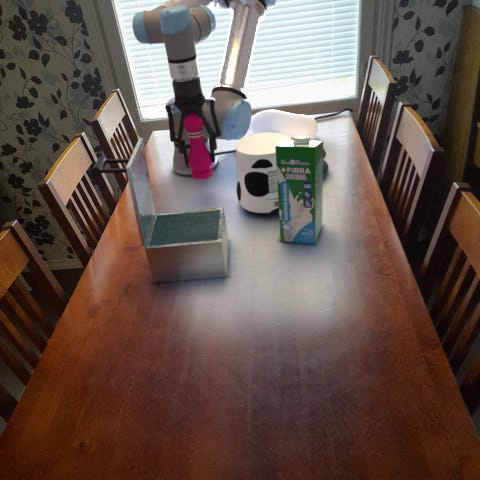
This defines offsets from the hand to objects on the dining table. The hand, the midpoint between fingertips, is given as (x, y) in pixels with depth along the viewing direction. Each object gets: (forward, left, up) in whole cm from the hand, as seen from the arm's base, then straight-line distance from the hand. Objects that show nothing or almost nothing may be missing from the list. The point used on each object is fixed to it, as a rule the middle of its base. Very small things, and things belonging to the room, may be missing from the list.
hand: (200, 161), depth 134 cm
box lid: (+27, +25, +9) cm, 38 cm away
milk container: (-10, +19, -11) cm, 24 cm away
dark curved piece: (-29, +10, -11) cm, 33 cm away
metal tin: (+21, +29, -11) cm, 37 cm away
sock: (-42, -15, -11) cm, 46 cm away
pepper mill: (0, 0, -4) cm, 4 cm away
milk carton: (-7, +38, -11) cm, 40 cm away
